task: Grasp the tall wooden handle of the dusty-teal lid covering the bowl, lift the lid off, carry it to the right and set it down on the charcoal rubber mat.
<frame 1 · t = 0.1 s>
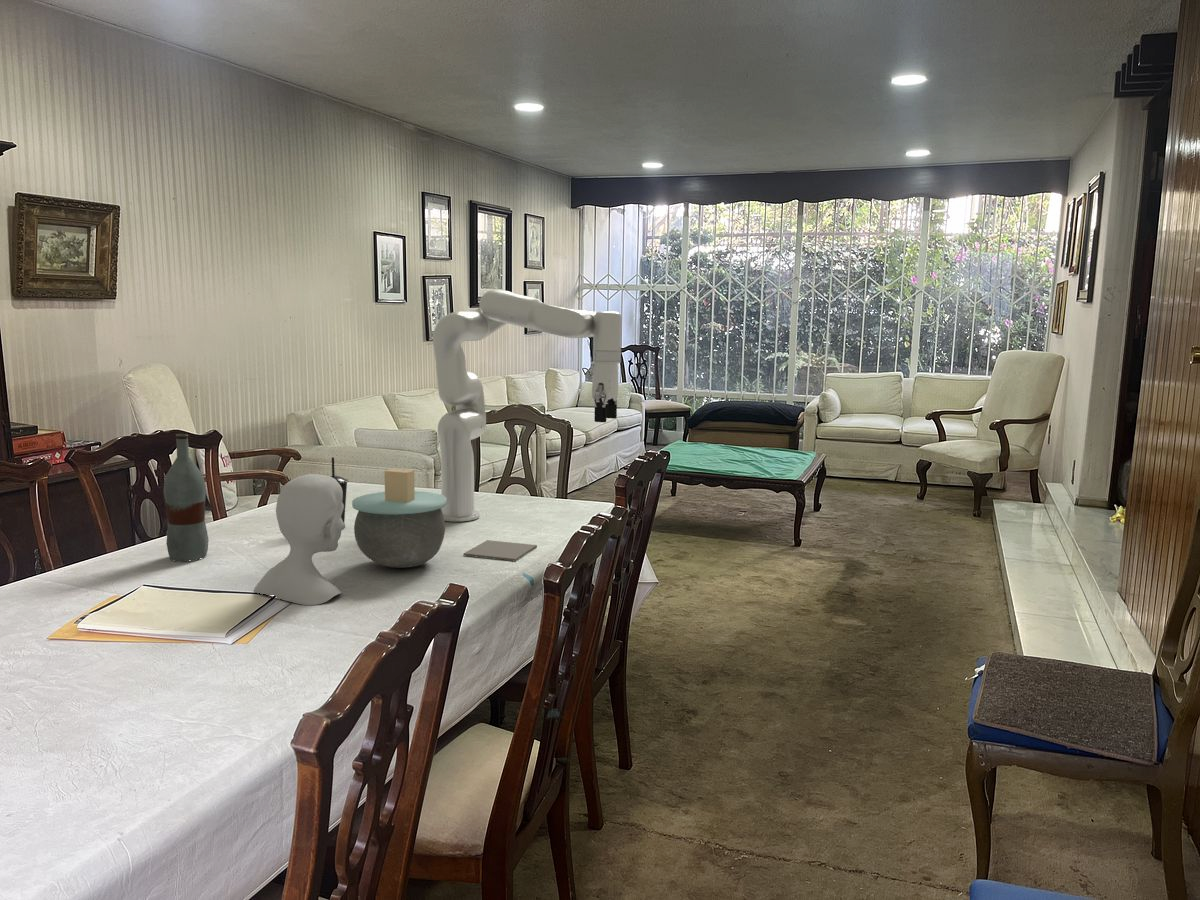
hand: (605, 420, 243), 31 cm above the table, tool pointing down, fingers open, 9 cm apart
lid: (399, 504, 208), point 15 cm above the table, touching bowl
head bust: (312, 588, 193), on the table
mat: (500, 551, 224), on the table
walkie talkie: (334, 529, 245), on the table
bowl: (400, 566, 211), on the table, touching lid
bottle: (188, 558, 214), on the table
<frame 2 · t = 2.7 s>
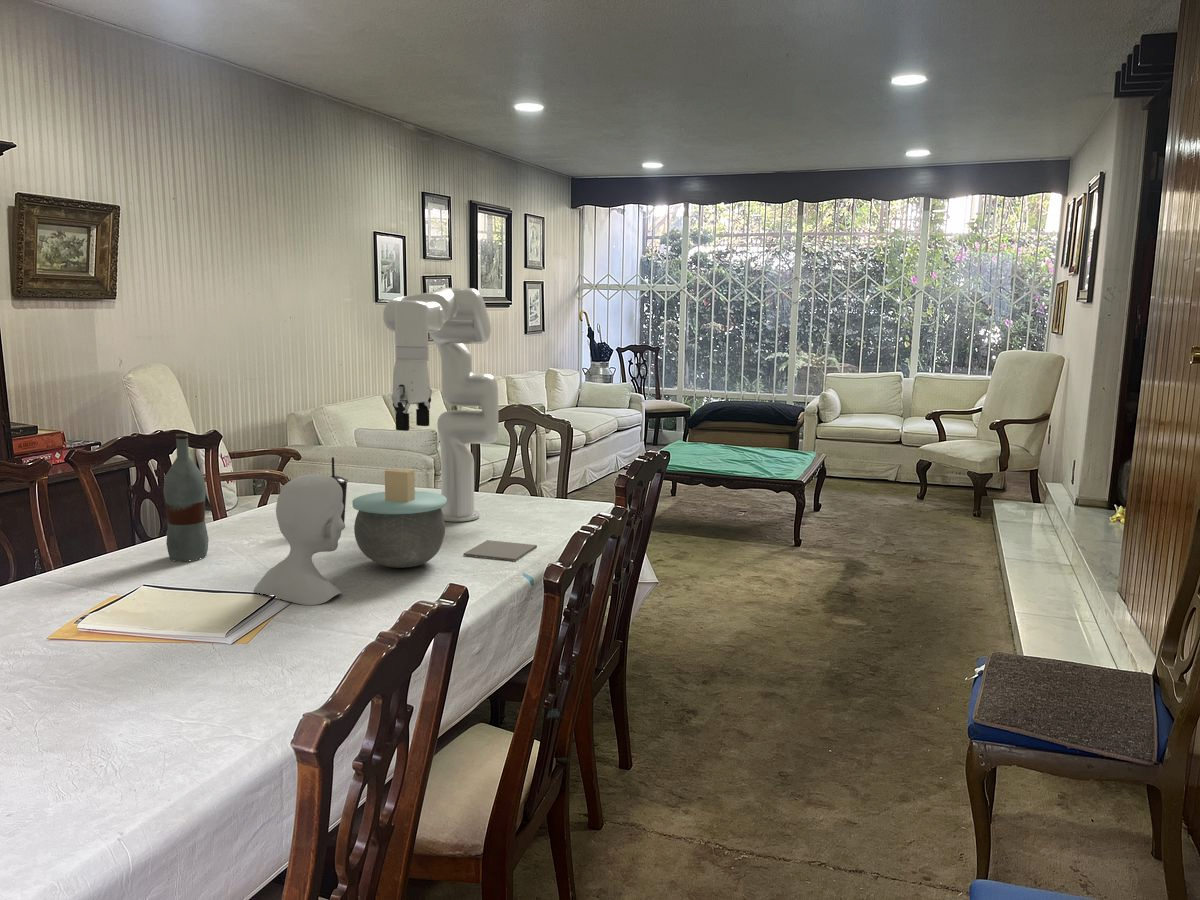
hand: (412, 428, 208), 33 cm above the table, tool pointing down, fingers open, 9 cm apart
nothing on the table moved.
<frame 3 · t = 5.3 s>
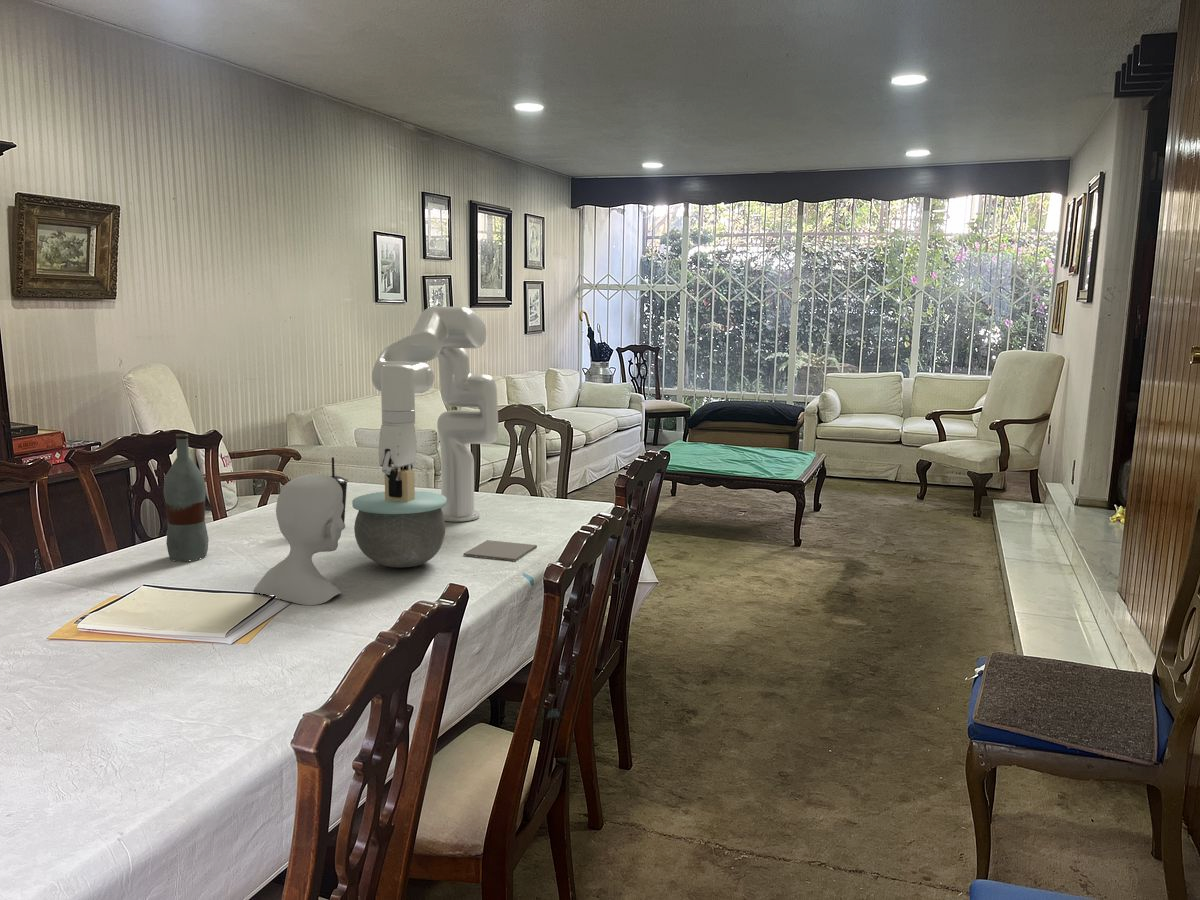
hand: (399, 494, 208), 17 cm above the table, tool pointing down, fingers closed on lid, 3 cm apart
lid: (400, 503, 208), point 15 cm above the table, touching bowl, gripper
everything else where it was.
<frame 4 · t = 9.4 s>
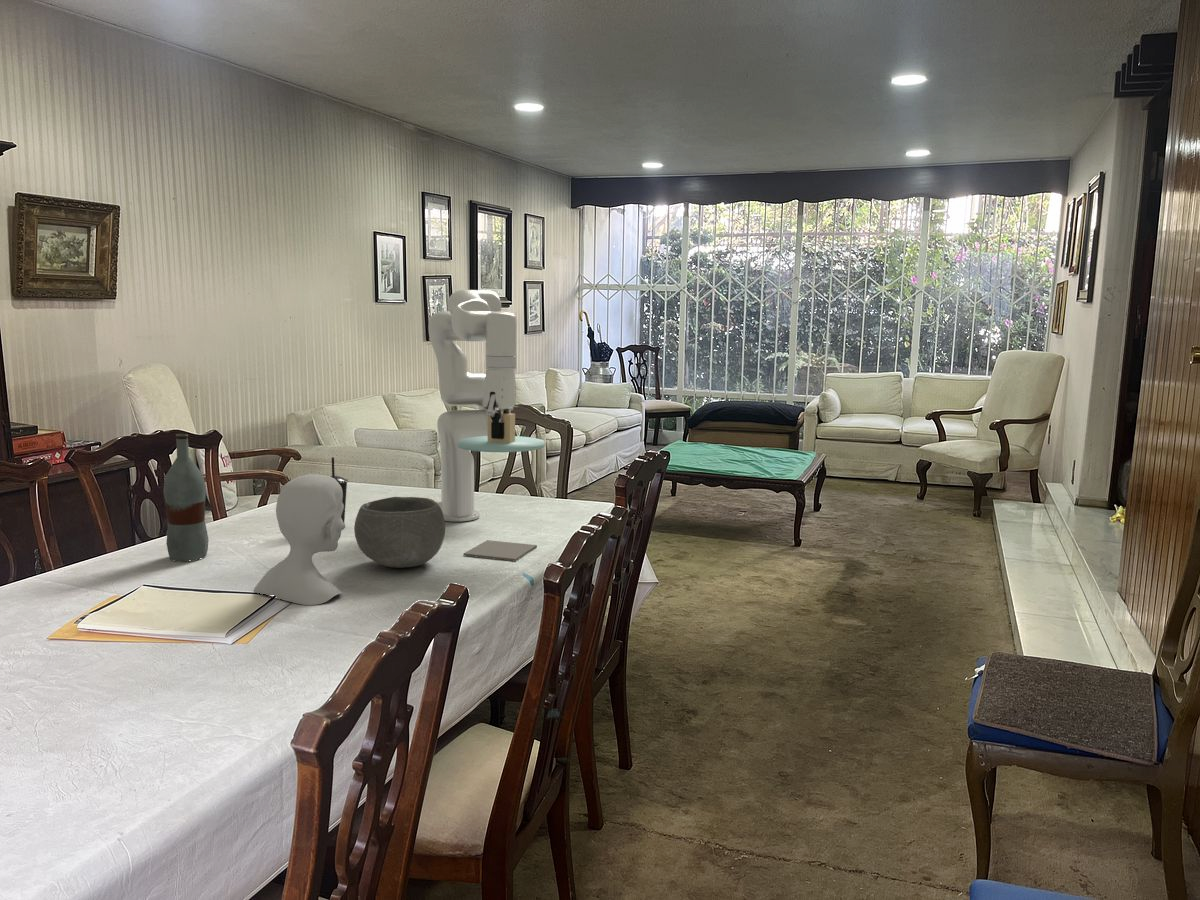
hand: (501, 436, 220), 29 cm above the table, tool pointing down, fingers closed on lid, 3 cm apart
lid: (501, 445, 220), point 27 cm above the table, touching gripper
bowl: (401, 566, 211), on the table
everything else where it was.
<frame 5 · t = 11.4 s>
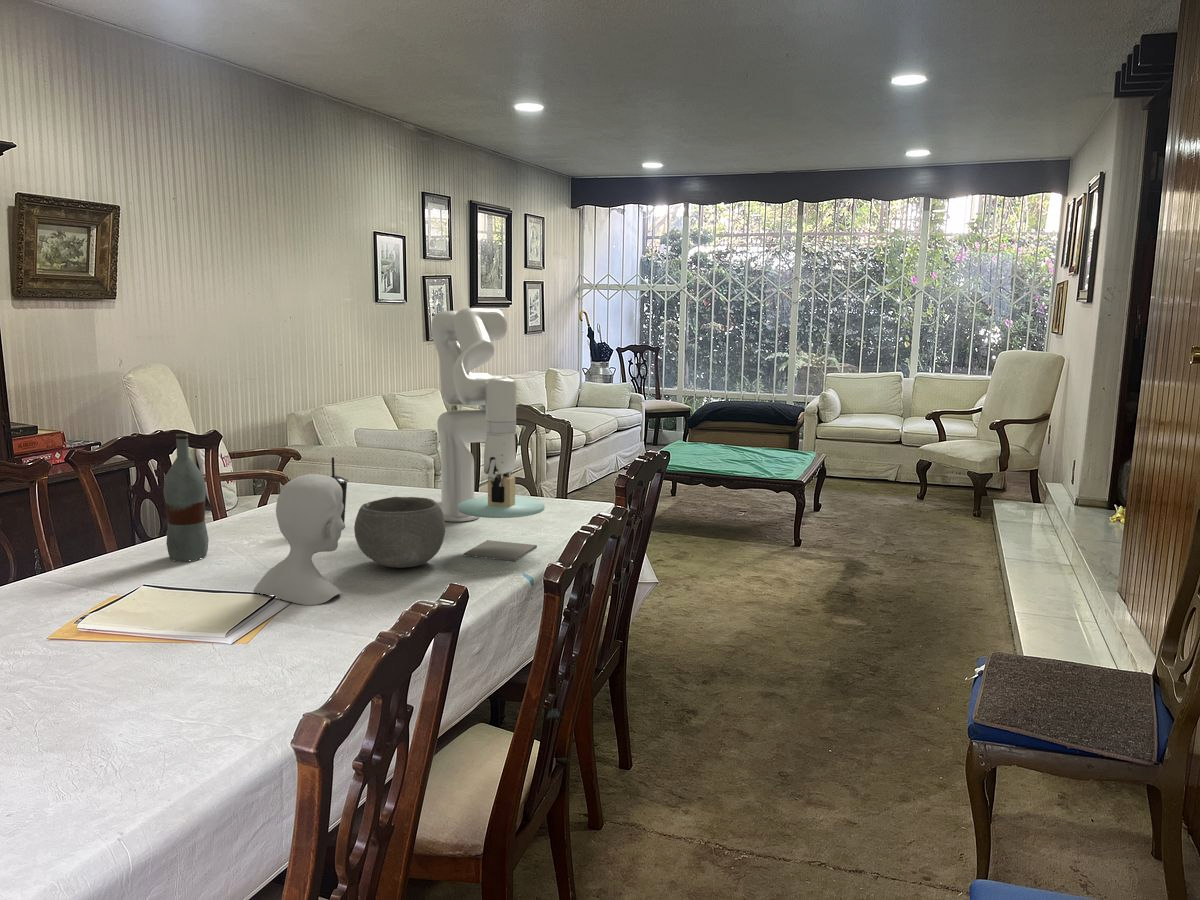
hand: (501, 499, 222), 13 cm above the table, tool pointing down, fingers closed on lid, 3 cm apart
lid: (501, 508, 223), point 11 cm above the table, touching gripper
everything else where it was.
when the fingers open (4 cm above the table, at t = 13.4 s): lid stays where it is, resting on mat.
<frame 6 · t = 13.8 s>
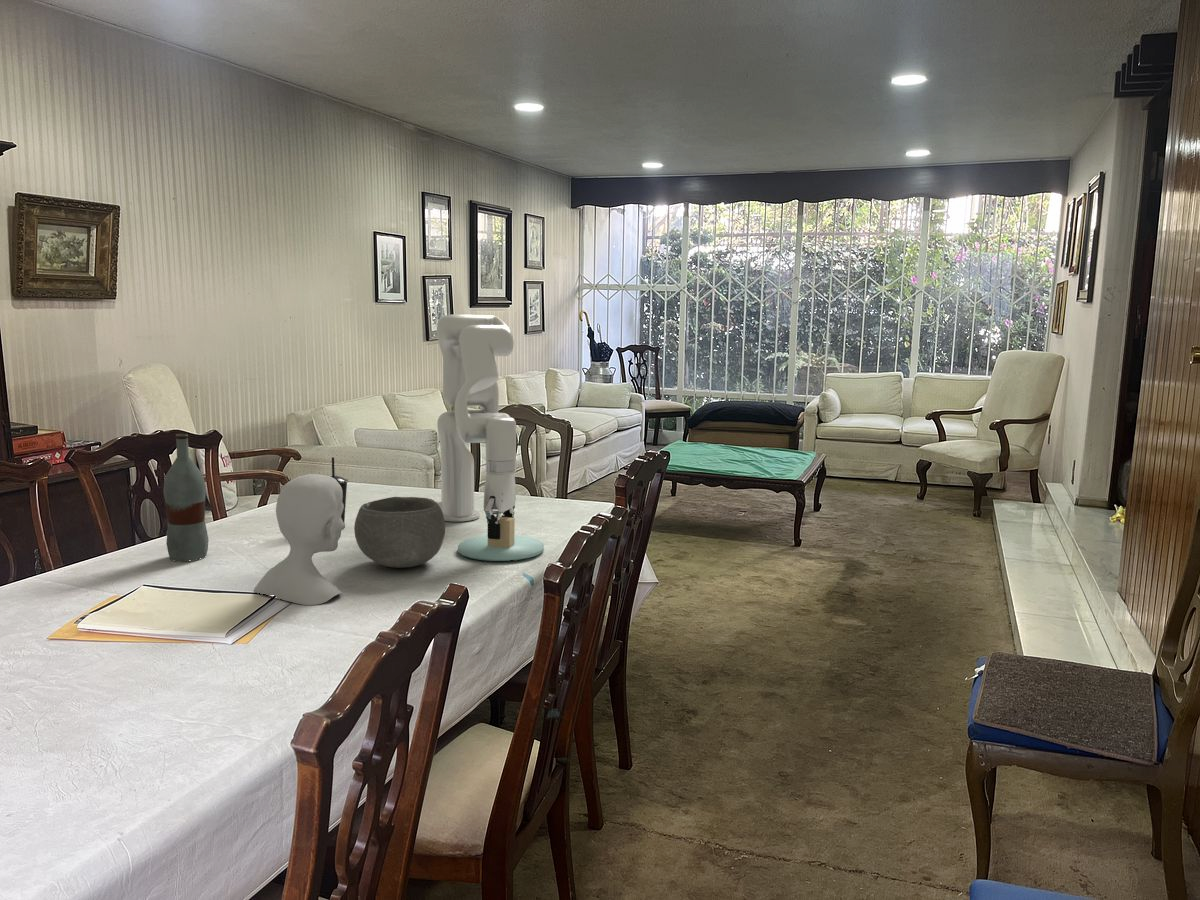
hand: (500, 534, 224), 4 cm above the table, tool pointing down, fingers open, 7 cm apart
lid: (501, 549, 225), point 1 cm above the table, touching mat
everything else where it was.
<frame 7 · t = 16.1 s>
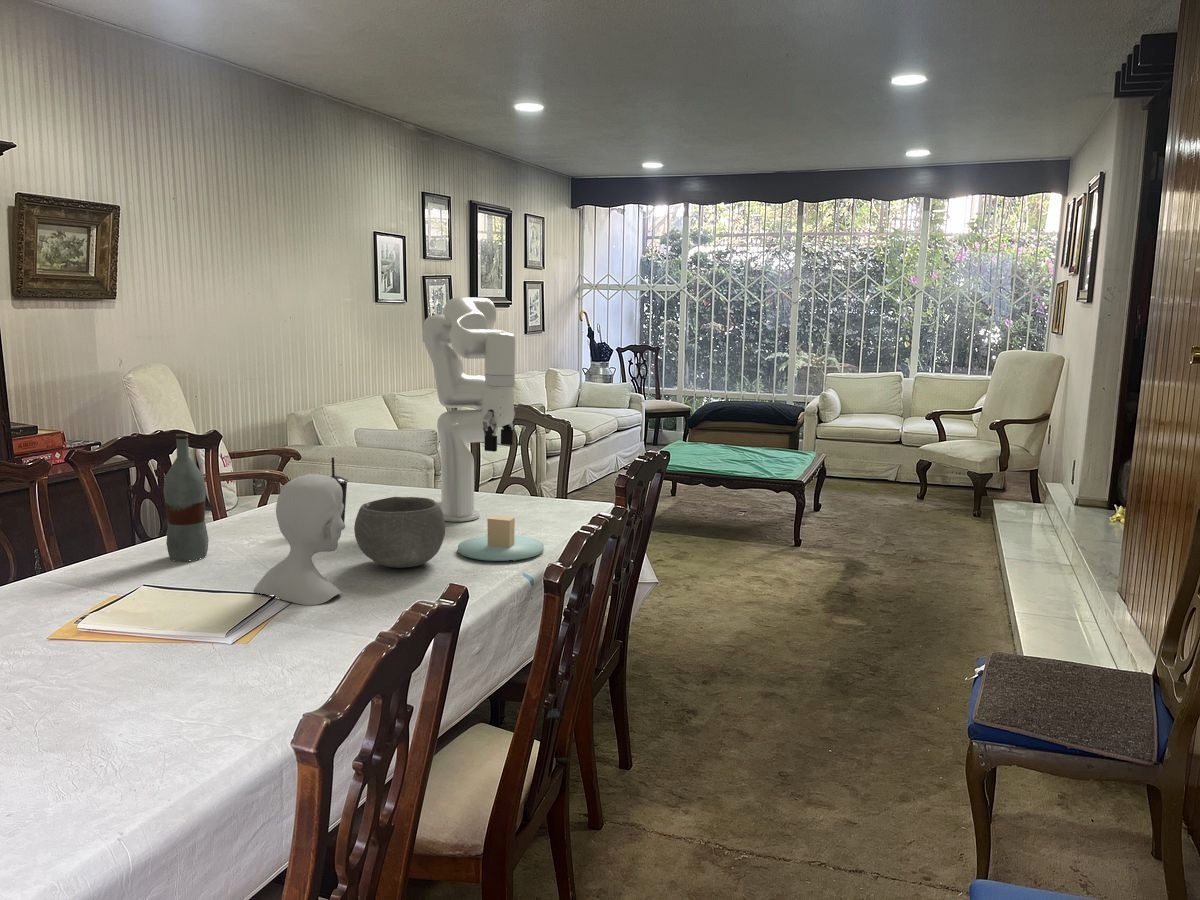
hand: (498, 447, 227), 26 cm above the table, tool pointing down, fingers open, 9 cm apart
nothing on the table moved.
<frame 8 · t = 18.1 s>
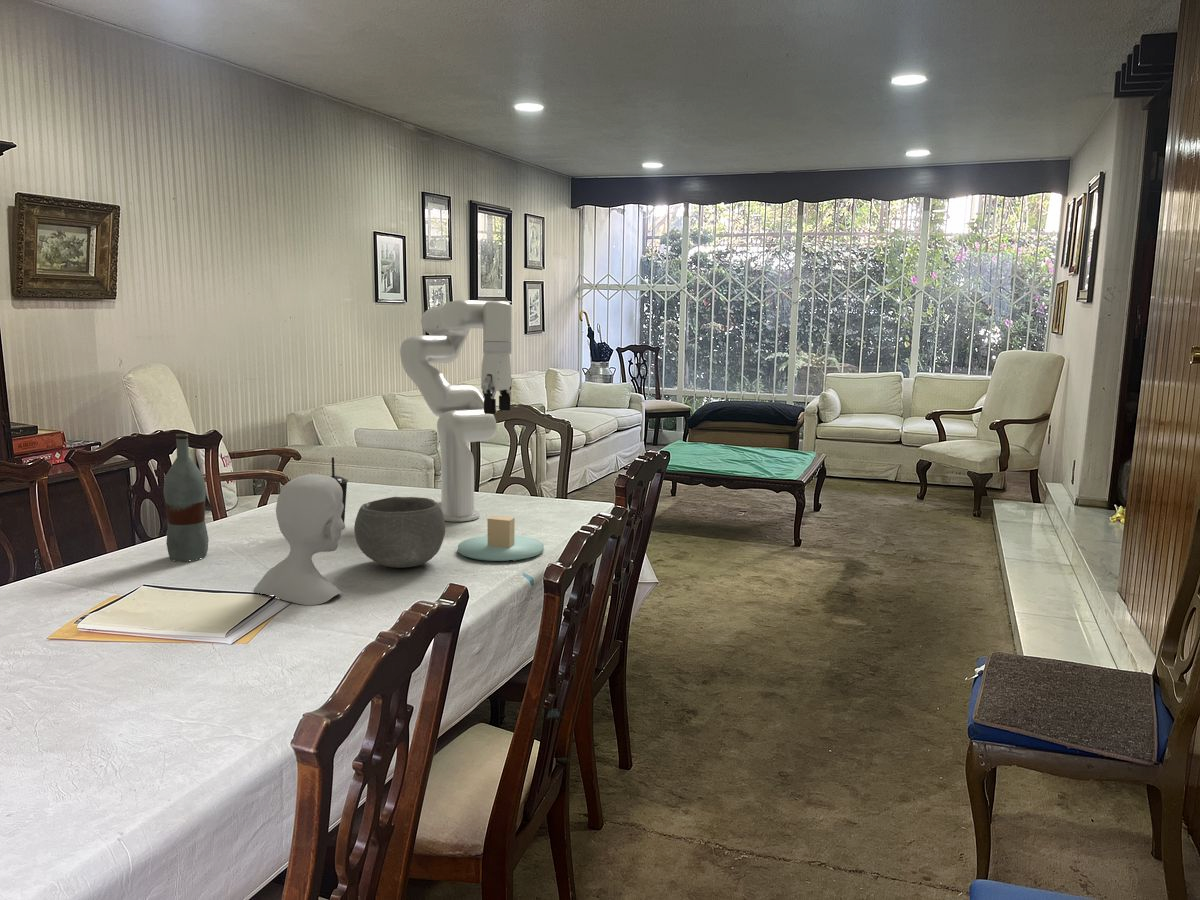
hand: (497, 411, 239), 33 cm above the table, tool pointing down, fingers open, 9 cm apart
nothing on the table moved.
at the end: lid inside the target area on the mat (0.1 cm from its centre), point 0.6 cm above the mat's base; bowl moved 0.3 cm from its start; the gripper is holding nothing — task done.
